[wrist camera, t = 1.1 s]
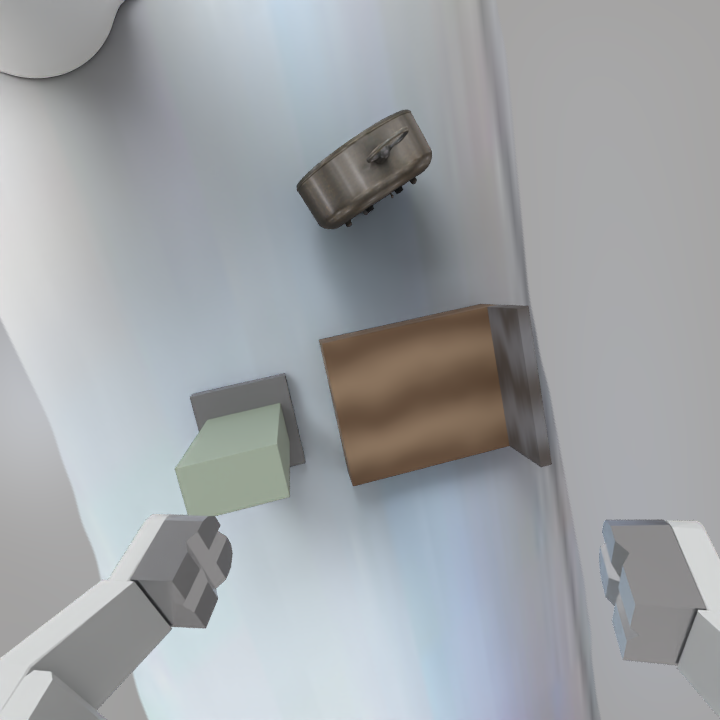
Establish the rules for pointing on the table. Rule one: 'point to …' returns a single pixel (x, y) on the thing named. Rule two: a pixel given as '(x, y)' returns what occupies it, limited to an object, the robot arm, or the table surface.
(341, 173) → the alarm clock
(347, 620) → the table surface
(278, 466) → the green pillar on base
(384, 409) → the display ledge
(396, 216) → the table surface
